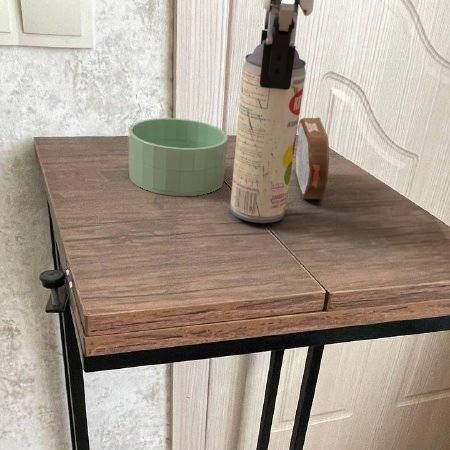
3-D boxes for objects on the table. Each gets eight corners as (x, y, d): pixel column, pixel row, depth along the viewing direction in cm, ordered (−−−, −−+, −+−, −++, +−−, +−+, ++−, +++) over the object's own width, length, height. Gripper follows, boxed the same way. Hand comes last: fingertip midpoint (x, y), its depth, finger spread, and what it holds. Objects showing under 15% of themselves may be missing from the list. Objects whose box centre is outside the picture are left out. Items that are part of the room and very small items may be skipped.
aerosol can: (284, 225, 75) (312, 36, 63) (227, 219, 75) (245, 28, 63) (284, 203, 81) (311, 25, 68) (232, 197, 81) (248, 18, 68)
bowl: (224, 166, 92) (228, 123, 88) (222, 200, 81) (226, 153, 78) (135, 157, 91) (135, 114, 87) (122, 190, 81) (121, 143, 77)
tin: (323, 210, 82) (336, 144, 77) (299, 208, 82) (311, 142, 76) (310, 170, 94) (320, 110, 88) (289, 168, 93) (298, 108, 88)
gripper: (352, -133, 51) (314, 103, 62) (329, -128, 64) (301, 65, 75) (260, -143, 50) (238, 96, 62) (256, -136, 64) (239, 59, 75)
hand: (273, 77), depth 68 cm, fingers closed on aerosol can, 6 cm apart
